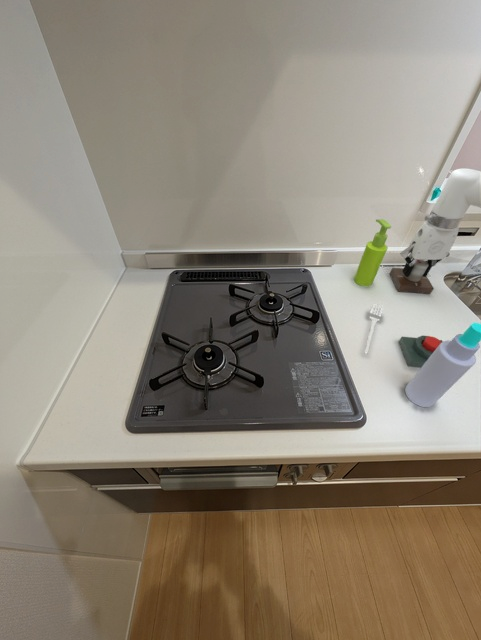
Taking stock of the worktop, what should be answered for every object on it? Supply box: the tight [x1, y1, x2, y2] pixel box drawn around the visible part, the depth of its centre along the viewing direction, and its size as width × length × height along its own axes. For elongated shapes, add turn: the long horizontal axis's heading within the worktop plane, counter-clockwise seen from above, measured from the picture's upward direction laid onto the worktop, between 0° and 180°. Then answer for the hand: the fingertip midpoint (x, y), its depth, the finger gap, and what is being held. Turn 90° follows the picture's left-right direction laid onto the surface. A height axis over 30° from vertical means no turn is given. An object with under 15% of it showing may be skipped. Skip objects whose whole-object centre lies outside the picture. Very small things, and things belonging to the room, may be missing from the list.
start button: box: [422, 335, 441, 352], centre depth 67 cm, size 4×4×2 cm
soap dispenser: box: [353, 218, 392, 287], centre depth 86 cm, size 6×7×20 cm
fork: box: [363, 302, 384, 355], centre depth 76 cm, size 3×20×2 cm, turn 153°
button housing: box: [398, 335, 444, 369], centre depth 69 cm, size 10×8×4 cm
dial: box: [404, 260, 429, 282], centre depth 88 cm, size 5×5×6 cm
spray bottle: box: [404, 322, 481, 408], centre depth 54 cm, size 6×6×22 cm
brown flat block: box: [388, 267, 434, 295], centre depth 91 cm, size 10×10×3 cm
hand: (414, 273), depth 89 cm, fingers closed on dial, 4 cm apart
